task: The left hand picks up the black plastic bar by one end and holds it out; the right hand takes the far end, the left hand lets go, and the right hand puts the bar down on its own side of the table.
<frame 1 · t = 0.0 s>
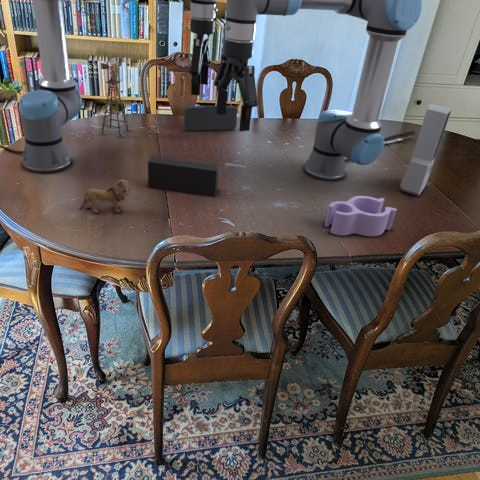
left hand: (199, 89, 153), 28 cm above the table, tool pointing down, fingers open, 13 cm apart
right hand: (232, 122, 129), 28 cm above the table, tool pointing down, fingers open, 13 cm apart
bar: (183, 188, 154), on the table
sword: (393, 143, 209), on the table
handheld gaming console: (210, 129, 203), on the table
electronic device: (412, 188, 170), on the table
lion figurine: (106, 209, 138), on the table
clip: (356, 226, 143), on the table
miniature windmill: (115, 132, 189), on the table
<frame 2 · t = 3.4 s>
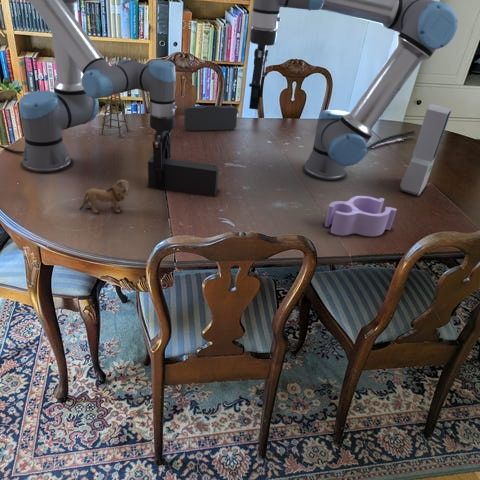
left hand: (162, 184, 154), 1 cm above the table, tool pointing down, fingers closed on bar, 4 cm apart
right hand: (255, 102, 145), 28 cm above the table, tool pointing down, fingers open, 13 cm apart
bar: (182, 188, 154), on the table, touching left hand
everything else where it was.
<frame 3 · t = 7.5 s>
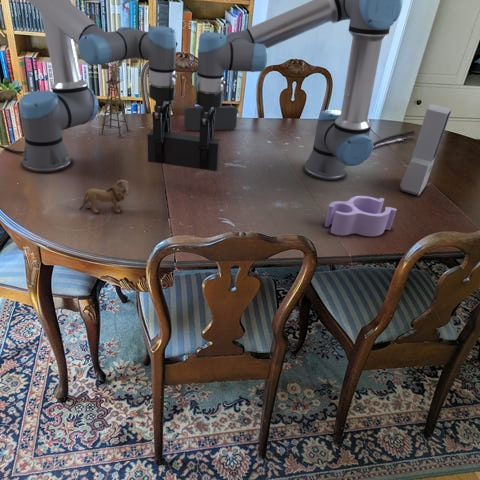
left hand: (162, 158, 149), 10 cm above the table, tool pointing down, fingers closed on bar, 4 cm apart
right hand: (205, 164, 148), 10 cm above the table, tool pointing down, fingers closed on bar, 4 cm apart
bar: (183, 163, 149), point 9 cm above the table, touching left hand, right hand
everything else where it was.
when the left hand's fingers open (10 cm above the table, at t = 8.2 s): bar stays where it is, held by the right hand.
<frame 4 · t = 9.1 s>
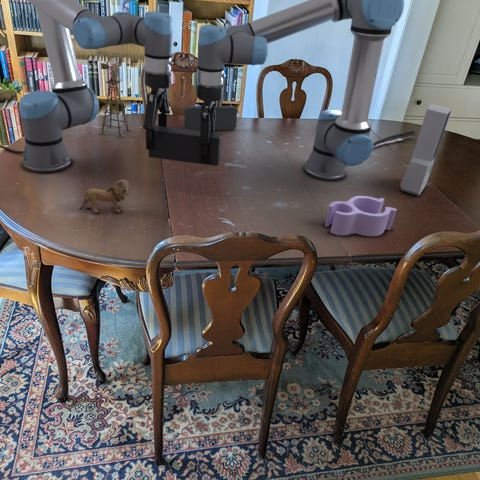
left hand: (156, 141, 146), 15 cm above the table, tool pointing down, fingers open, 13 cm apart
right hand: (206, 159, 147), 11 cm above the table, tool pointing down, fingers closed on bar, 4 cm apart
bar: (184, 158, 148), point 11 cm above the table, touching right hand
everything else where it was.
when the right hand's fingers open (2 cm above the table, at t = 19.3 s): bar drops 2 cm, on the table.
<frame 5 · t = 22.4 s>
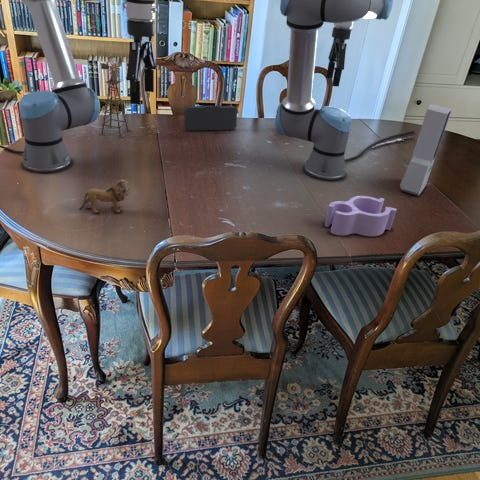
left hand: (142, 97, 139), 28 cm above the table, tool pointing down, fingers open, 13 cm apart
right hand: (332, 81, 197), 23 cm above the table, tool pointing down, fingers open, 13 cm apart
bar: (306, 133, 209), on the table
everything else where it was.
at the end: bar inside the target area (7.1 cm from its centre), on the table; the left hand is holding nothing; the right hand is holding nothing; bar at rest at the end (0.0 cm/s) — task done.
